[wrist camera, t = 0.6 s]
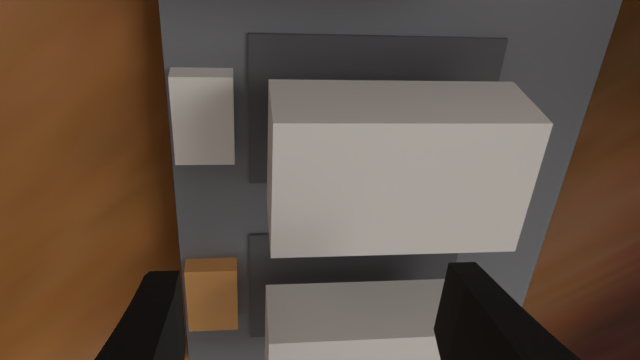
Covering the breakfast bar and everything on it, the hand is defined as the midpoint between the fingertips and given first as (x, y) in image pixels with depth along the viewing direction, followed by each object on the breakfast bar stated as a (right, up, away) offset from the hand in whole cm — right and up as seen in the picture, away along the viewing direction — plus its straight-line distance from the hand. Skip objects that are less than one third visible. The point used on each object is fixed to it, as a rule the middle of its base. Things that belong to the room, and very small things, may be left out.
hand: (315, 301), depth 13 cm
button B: (+2, +4, +6) cm, 8 cm away
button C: (+2, -3, +10) cm, 11 cm away
